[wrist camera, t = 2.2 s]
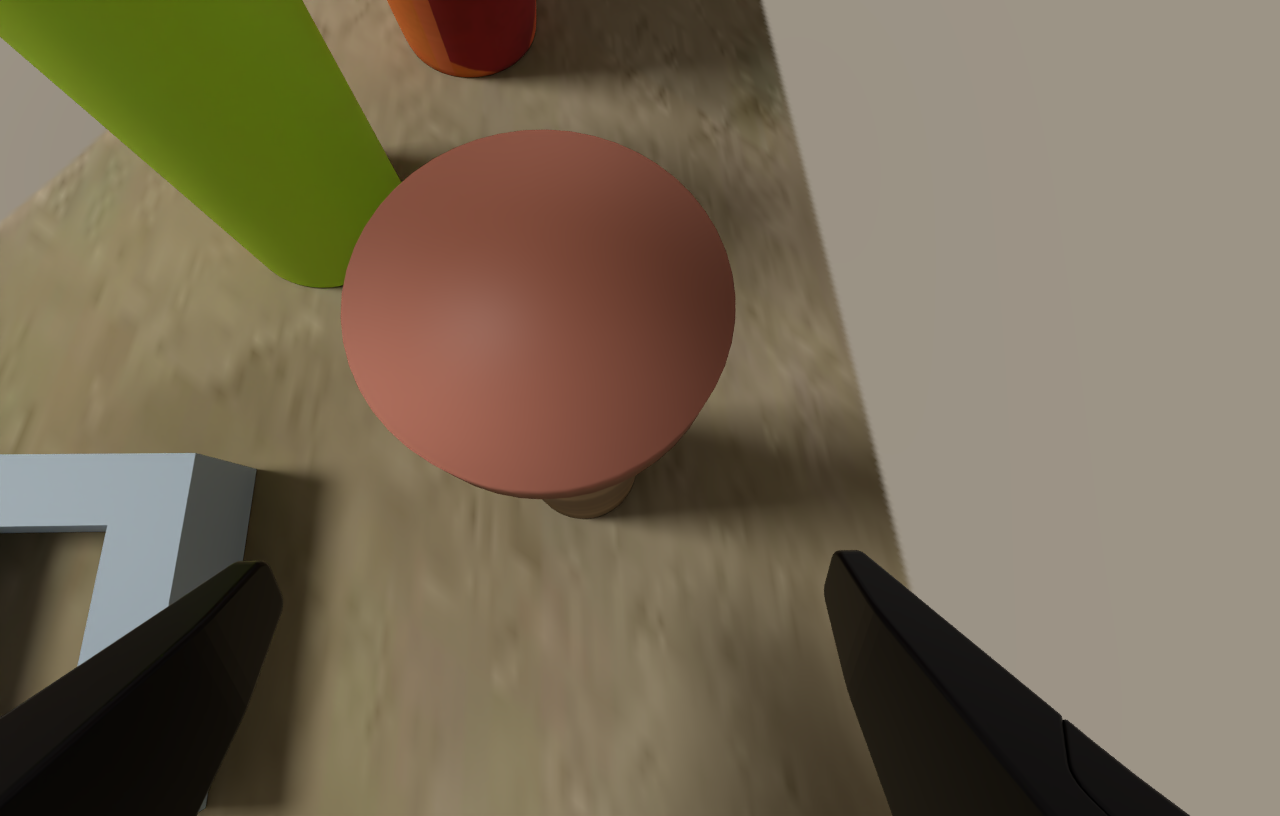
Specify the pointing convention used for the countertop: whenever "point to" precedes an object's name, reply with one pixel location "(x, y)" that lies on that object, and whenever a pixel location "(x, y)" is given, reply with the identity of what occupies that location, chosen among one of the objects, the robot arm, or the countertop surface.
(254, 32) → the soap dispenser
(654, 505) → the countertop surface
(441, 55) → the paper cup
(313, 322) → the countertop surface
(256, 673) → the robot arm
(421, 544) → the countertop surface
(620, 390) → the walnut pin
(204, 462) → the hole block
